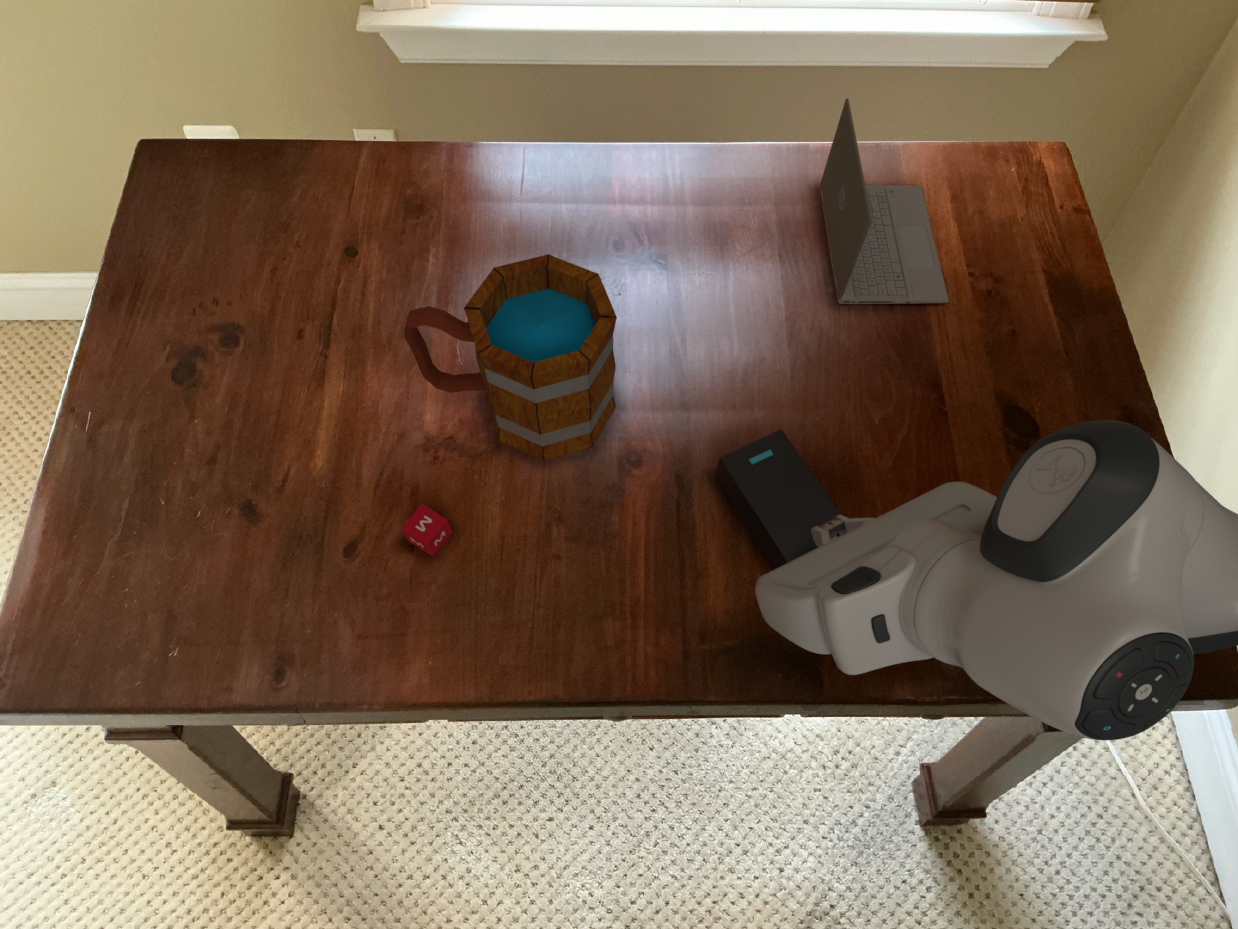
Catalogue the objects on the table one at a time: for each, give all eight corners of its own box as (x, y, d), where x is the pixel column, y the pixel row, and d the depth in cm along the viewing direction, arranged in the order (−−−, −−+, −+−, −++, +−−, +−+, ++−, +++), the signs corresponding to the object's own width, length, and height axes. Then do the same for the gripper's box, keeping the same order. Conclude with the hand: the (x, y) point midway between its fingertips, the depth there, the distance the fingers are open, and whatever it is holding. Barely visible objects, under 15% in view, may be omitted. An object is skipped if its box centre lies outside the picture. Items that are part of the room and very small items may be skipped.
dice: (433, 556, 78) (426, 544, 75) (407, 541, 78) (400, 528, 76) (452, 532, 79) (447, 519, 76) (427, 516, 80) (421, 503, 77)
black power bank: (866, 547, 74) (782, 427, 80) (800, 581, 73) (719, 456, 78) (853, 565, 78) (774, 449, 84) (791, 597, 76) (714, 477, 82)
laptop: (947, 306, 93) (995, 221, 81) (835, 305, 93) (868, 220, 81) (919, 189, 101) (959, 97, 90) (817, 188, 101) (844, 96, 89)
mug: (619, 354, 89) (622, 258, 76) (610, 465, 83) (611, 381, 69) (438, 343, 89) (409, 245, 76) (415, 452, 83) (379, 366, 70)
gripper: (1044, 487, 60) (916, 448, 72) (807, 611, 55) (715, 546, 68) (1056, 561, 62) (930, 511, 74) (829, 687, 57) (735, 611, 70)
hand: (826, 528), depth 71 cm, fingers closed
